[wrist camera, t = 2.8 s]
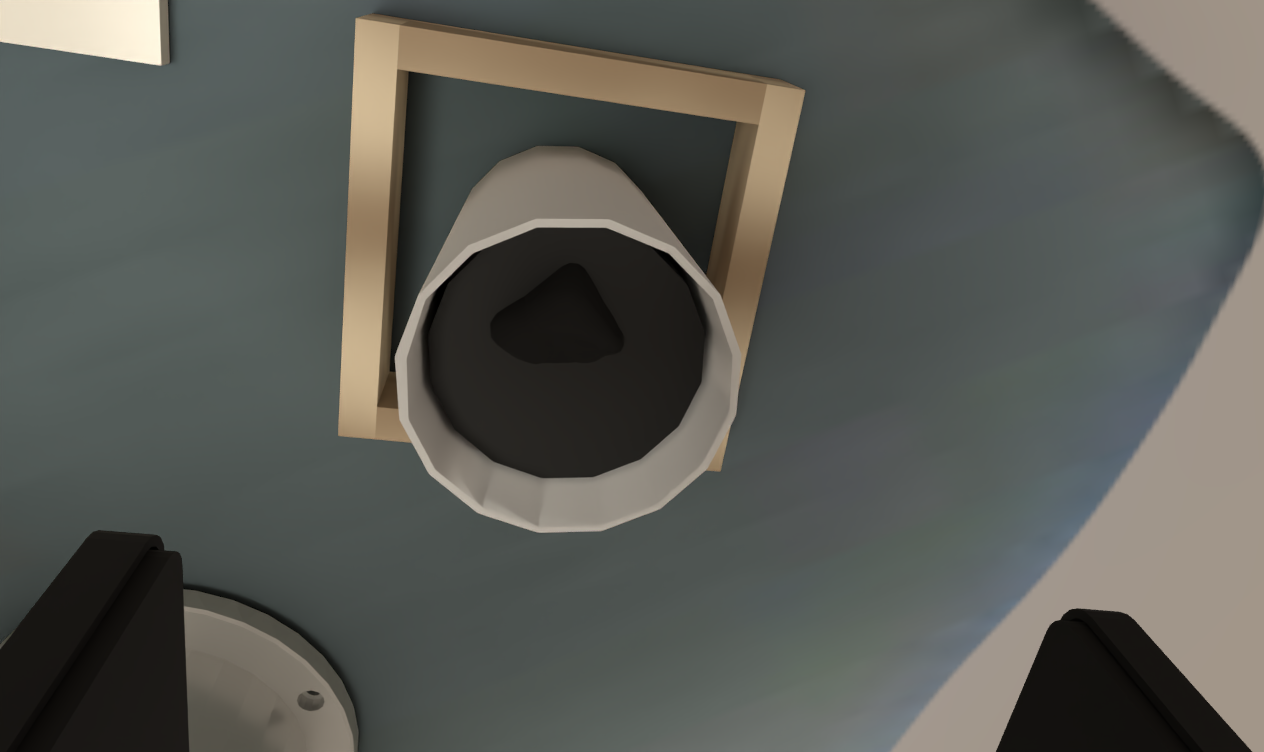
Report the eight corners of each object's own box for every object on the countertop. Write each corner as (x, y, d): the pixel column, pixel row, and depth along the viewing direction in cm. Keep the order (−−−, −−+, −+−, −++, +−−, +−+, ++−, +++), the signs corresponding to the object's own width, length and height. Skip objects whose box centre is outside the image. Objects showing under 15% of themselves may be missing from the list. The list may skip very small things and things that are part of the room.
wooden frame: (705, 433, 30) (720, 471, 28) (353, 398, 28) (338, 435, 26) (780, 80, 26) (805, 90, 23) (372, 13, 24) (355, 18, 22)
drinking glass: (392, 212, 26) (317, 343, 17) (592, 80, 25) (626, 142, 16) (527, 391, 29) (525, 587, 20) (712, 276, 28) (801, 426, 19)
